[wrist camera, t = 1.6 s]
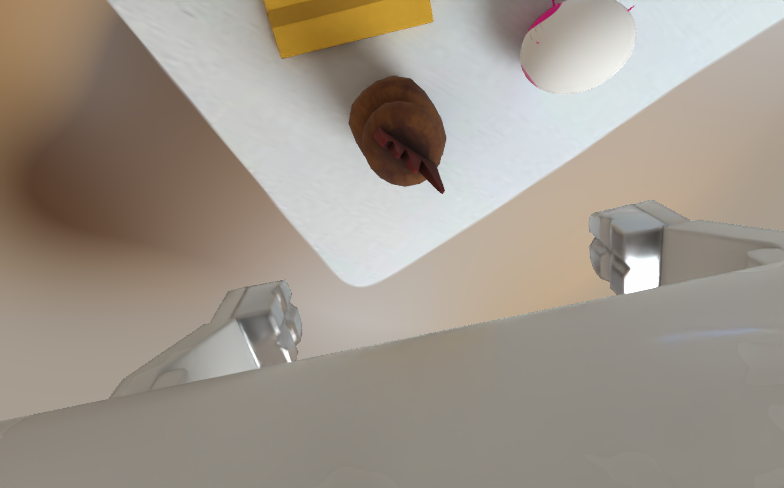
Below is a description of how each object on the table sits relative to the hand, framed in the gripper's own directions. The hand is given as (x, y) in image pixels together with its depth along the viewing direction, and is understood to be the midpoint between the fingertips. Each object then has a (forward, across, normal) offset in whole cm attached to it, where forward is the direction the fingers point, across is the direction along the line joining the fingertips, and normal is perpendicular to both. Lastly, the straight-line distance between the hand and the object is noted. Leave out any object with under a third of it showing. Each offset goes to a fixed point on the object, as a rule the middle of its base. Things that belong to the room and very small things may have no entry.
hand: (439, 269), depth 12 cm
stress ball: (+25, -13, -3) cm, 28 cm away
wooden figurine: (+25, 0, 0) cm, 25 cm away
